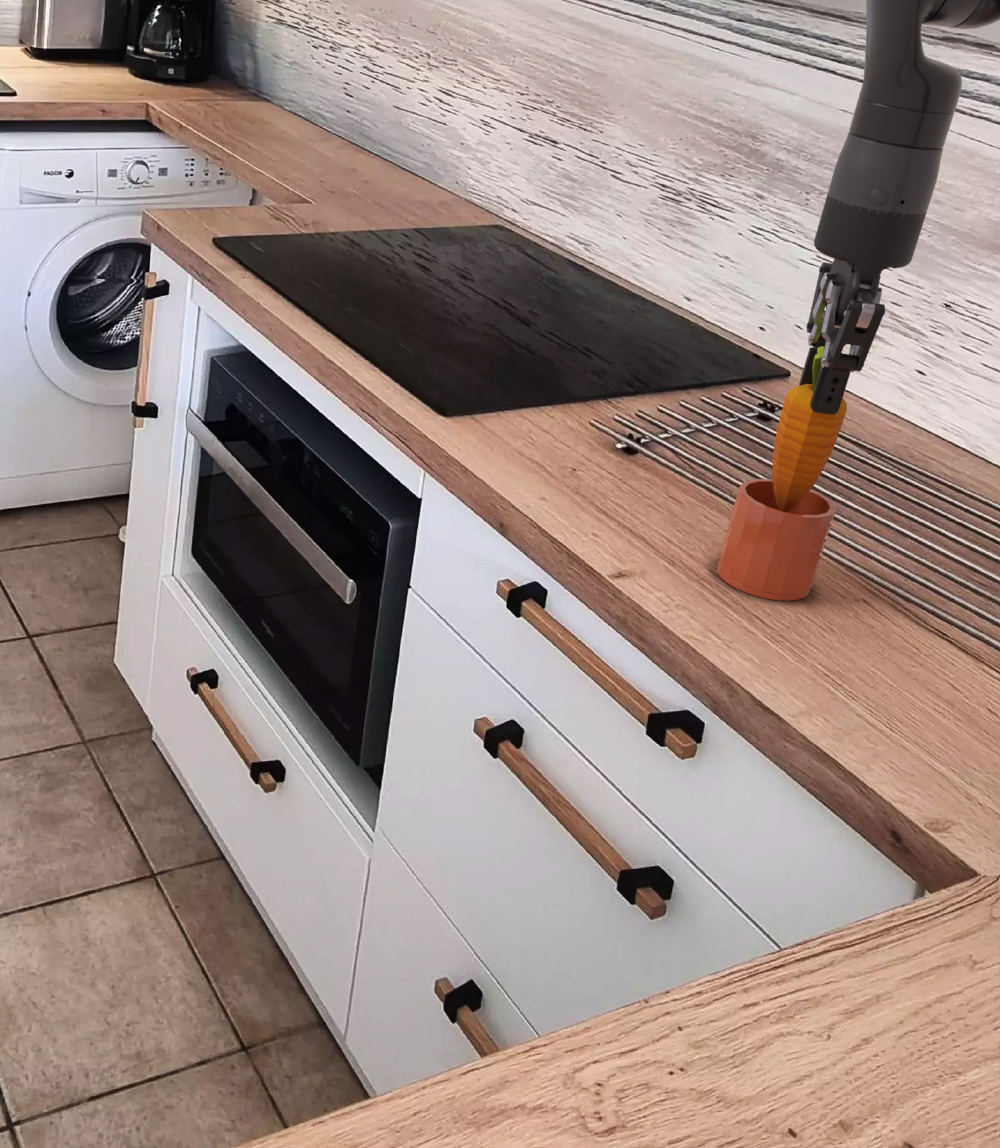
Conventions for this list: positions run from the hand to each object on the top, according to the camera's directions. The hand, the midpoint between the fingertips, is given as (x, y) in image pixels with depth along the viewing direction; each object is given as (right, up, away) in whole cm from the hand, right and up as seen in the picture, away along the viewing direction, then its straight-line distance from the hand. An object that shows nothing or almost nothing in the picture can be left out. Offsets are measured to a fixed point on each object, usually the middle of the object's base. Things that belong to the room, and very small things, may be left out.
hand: (817, 400), depth 126 cm
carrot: (-1, -9, +5) cm, 11 cm away
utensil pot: (-2, -15, +8) cm, 17 cm away
